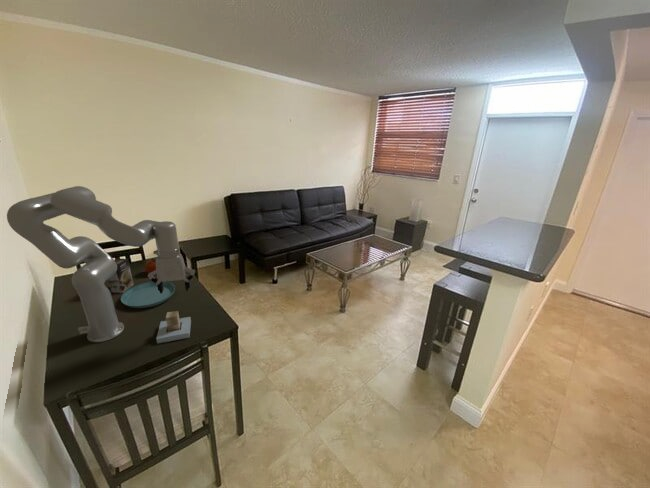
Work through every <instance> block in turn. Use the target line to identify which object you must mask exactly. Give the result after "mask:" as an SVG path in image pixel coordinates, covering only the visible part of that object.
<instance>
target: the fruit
mask: <svg viewBox="0 0 650 488" xmlns="http://www.w3.org/2000/svg"><path fill="white" fill-rule="evenodd" d="M144 270H145V271H146V273H148V274H149V273H151V272H153V271H155V270H156V258H151V259H150V260H148V261H147V262H145V265H144Z"/></svg>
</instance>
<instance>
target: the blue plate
mask: <svg viewBox="0 0 650 488" xmlns="http://www.w3.org/2000/svg"><path fill="white" fill-rule="evenodd" d="M162 283H163V289H164V290H163V292H162V293H160V291H158V287H157V285H156V283H154V282H152V281H149V282H144V283H140V284H138V285H135V286H132V287H130V288H129V289H127V290H126V291H125V292H123V293H122V294H121V297H120V302H121V303H122V304H123V305H125V306H126V307H129V308H132V309H133V308H134V309H145V308H151V307H155V306H158V305H160V304H163V303H165V302H166V301H167V300H169V299H170V298H171V297H172V296H173V295H174V293H175V290H176V286H175V285H174V283H172V282H170V281H162Z"/></svg>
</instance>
